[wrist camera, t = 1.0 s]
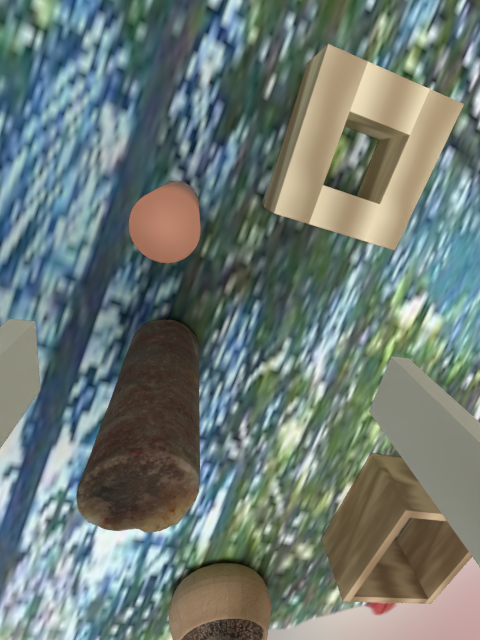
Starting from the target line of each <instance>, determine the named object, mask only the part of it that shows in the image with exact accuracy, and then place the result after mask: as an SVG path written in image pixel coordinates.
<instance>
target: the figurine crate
mask: <svg viewBox="0 0 480 640" xmlns="http://www.w3.org/2000/svg"><path fill="white" fill-rule="evenodd" d="M409 518H411V520H410V521H409V523H408V524H407V525H406V527H405V528H404V530H403V531H402V532H401V534H400V535H399V537H398V538H397V539H395V537H396V536H397V535H398V533H399V532H400V530H401V529H402V528H403V526H404V525H405V523H406V522H407V521H408V519H409ZM322 541H323V544H324V547H325V550H326V553H327V556H328V559H329V562H330V565H331V568H332V571H333V574H334V577H335V580H336V582H337V585H338V588H339V591H340V594H341V597H342V600H343V601H352V602H386V603H420V604H431V603H432V602H433V601H434V600H435V599H436V598H437V596H438V595H439V594H440V593H441V592H442V591H443V589H444V588H445V587H446V586H447V585H448V584H449V583H450V582H451V580H452V579H453V578H454V577H455V576H456V574H457V573H458V572H459V571H460V570H461V569H462V568H463V566H464V565H465V564H466V563H467V562H468V561H469V560H470V559H471V557H472V555H471V554H470V553H469V551H468V550H467V548H466V547H465V546H464V544H463V543H462V541H461V540H460V539H459V537H458V536H457V534H456V533H455V531H454V530H453V529H452V527H451V526H450V524H449V523H448V522H447V520H446V519H445V517H444V516H443V515H442V513H441V512H440V510H439V509H438V508H437V506H436V505H435V503H434V502H433V501H432V499H431V498H430V496H429V495H428V494H427V492H426V491H425V489H424V488H423V487H422V485H421V484H420V482H419V481H418V480H417V478H416V477H415V475H414V474H413V472H412V471H411V470H410V468H409V467H408V465H407V464H406V463H405V461H404V460H403V458H400V457H393V456H386V455H379V454H372V453H371V455H370V456H369V458H368V460H367V461H366V463H365V465H364V467H363V468H362V470H361V472H360V473H359V475H358V477H357V479H356V480H355V482H354V484H353V485H352V487H351V489H350V491H349V492H348V494H347V496H346V497H345V499H344V501H343V503H342V504H341V506H340V508H339V509H338V511H337V513H336V515H335V516H334V518H333V520H332V521H331V523H330V525H329V527H328V528H327V530H326V532H325V533H324V535H323V537H322Z"/></svg>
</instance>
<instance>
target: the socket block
mask: <svg viewBox="0 0 480 640" xmlns="http://www.w3.org/2000/svg"><path fill="white" fill-rule="evenodd" d="M463 105H464V104H462V103H460V102H458V101H455V100H453V99H451V98H449V97H446V96H444V95H442V94H440V93H437V92H435V91H433V90H431V89H428V88H426V87H424V86H422V85H419V84H417V83H415V82H413V81H410V80H408V79H406V78H404V77H401V76H399V75H397V74H395V73H392V72H390V71H388V70H386V69H383V68H381V67H379V66H377V65H374V64H372V63H370V62H368V61H365V60H363V59H361V58H359V57H356V56H354V55H352V54H350V53H347V52H345V51H343V50H341V49H338V48H336V47H334V46H332V45H329V44H328V45H327V46H326V47H325V48H323V49H322V50H321V51H320V52H319V53H318V54H317V55H316V56H315V57H314V58H313V59H312V60H311V61H309V62H308V63H307V66H306V69H305V72H304V76H303V79H302V82H301V86H300V89H299V92H298V95H297V99H296V102H295V105H294V108H293V112H292V115H291V118H290V121H289V125H288V128H287V131H286V134H285V138H284V141H283V144H282V147H281V151H280V154H279V157H278V160H277V164H276V167H275V170H274V173H273V177H272V180H271V183H270V186H269V190H268V193H267V196H266V199H265V203H264V206H263V207H264V208H266V209H268V210H269V211H271V212H273V213H275V214H278V215H281V216H284V217H288V218H291V219H294V220H297V221H301V222H304V223H307V224H310V225H314V226H317V227H320V228H324V229H327V230H330V231H333V232H337V233H340V234H343V235H346V236H350V237H353V238H356V239H360V240H363V241H366V242H369V243H373V244H376V245H379V246H382V247H386V248H389V249H392V250H395V248H396V246H397V244H398V242H399V240H400V238H401V236H402V234H403V232H404V229H405V227H406V225H407V223H408V221H409V219H410V217H411V215H412V213H413V210H414V208H415V206H416V204H417V202H418V200H419V198H420V196H421V194H422V191H423V189H424V187H425V185H426V183H427V181H428V179H429V177H430V175H431V172H432V170H433V168H434V166H435V164H436V162H437V160H438V158H439V156H440V153H441V151H442V149H443V147H444V145H445V143H446V141H447V139H448V137H449V134H450V132H451V130H452V128H453V126H454V124H455V122H456V120H457V118H458V115H459V113H460V111H461V109H462V107H463ZM344 126H345V127H348V128H350V129H353V130H356V131H358V132H361V133H363V134H366V135H369V136H371V137H374V138H376V139H379V142H378V144H377V146H376V149H375V151H374V154H373V156H372V159H371V161H370V164H369V166H368V169H367V171H366V174H365V176H364V179H363V181H362V184H361V186H360V188H359V191H358V193H357V196H354V195H351V194H348V193H345V192H342V191H339V190H336V189H333V188H330V187H327V186H324V185H323V184H324V181H325V178H326V175H327V173H328V170H329V167H330V164H331V162H332V159H333V156H334V153H335V151H336V148H337V145H338V142H339V140H340V137H341V134H342V131H343V129H344Z"/></svg>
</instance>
